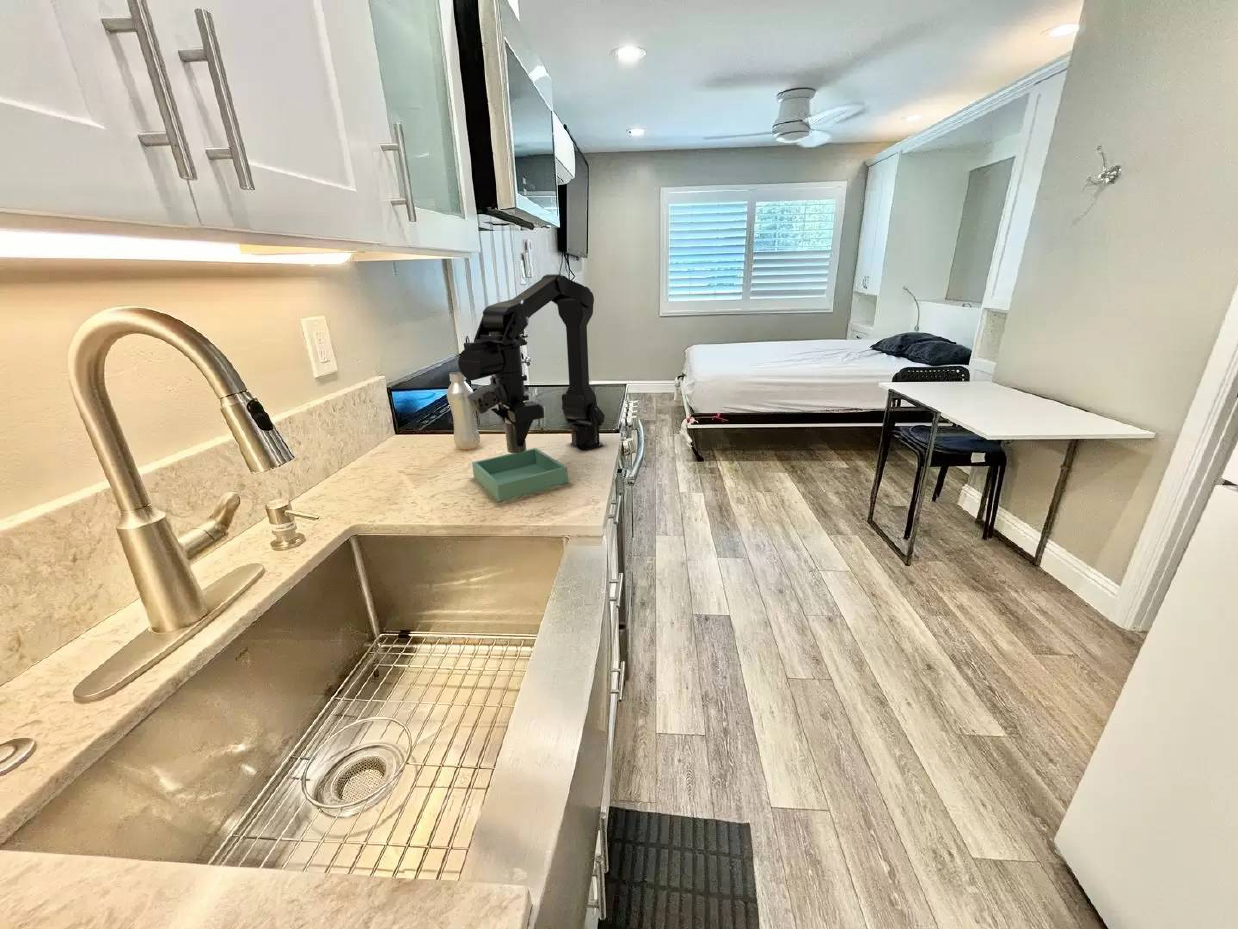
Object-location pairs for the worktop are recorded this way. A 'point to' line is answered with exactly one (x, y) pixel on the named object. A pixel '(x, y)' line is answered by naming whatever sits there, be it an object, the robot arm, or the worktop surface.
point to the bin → (519, 473)
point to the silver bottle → (462, 412)
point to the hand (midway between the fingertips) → (516, 443)
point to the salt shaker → (512, 439)
